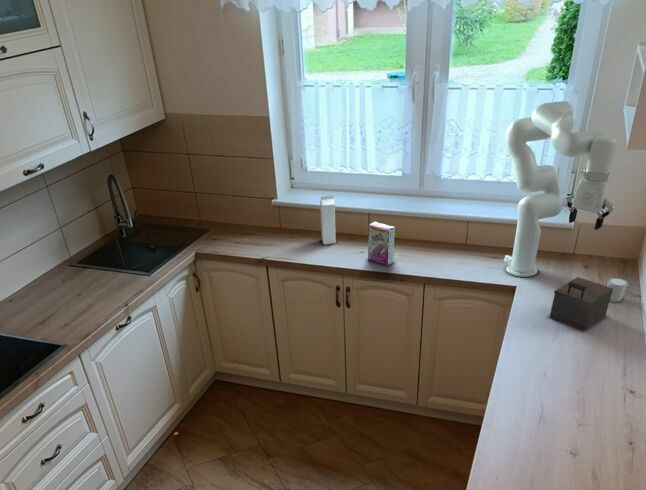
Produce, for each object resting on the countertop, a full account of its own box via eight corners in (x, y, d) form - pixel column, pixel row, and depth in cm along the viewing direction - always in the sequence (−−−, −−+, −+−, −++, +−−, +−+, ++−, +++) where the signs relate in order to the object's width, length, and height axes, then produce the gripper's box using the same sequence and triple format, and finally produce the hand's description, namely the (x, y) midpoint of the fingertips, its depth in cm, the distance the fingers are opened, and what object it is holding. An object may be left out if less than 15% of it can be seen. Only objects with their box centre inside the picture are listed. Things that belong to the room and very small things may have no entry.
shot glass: (624, 302, 225) (629, 286, 221) (605, 301, 227) (610, 285, 222) (621, 294, 231) (626, 278, 226) (602, 293, 232) (606, 277, 228)
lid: (589, 305, 204) (593, 292, 201) (553, 292, 213) (556, 280, 210) (612, 290, 212) (616, 277, 209) (577, 278, 220) (580, 266, 217)
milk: (321, 240, 288) (319, 194, 275) (333, 238, 288) (332, 193, 275) (323, 244, 283) (321, 198, 270) (336, 243, 284) (334, 197, 270)
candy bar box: (367, 260, 267) (367, 224, 257) (374, 256, 270) (374, 221, 260) (387, 266, 261) (388, 230, 251) (394, 262, 264) (395, 226, 254)
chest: (584, 330, 211) (591, 304, 205) (549, 317, 219) (555, 292, 213) (605, 316, 218) (612, 290, 212) (571, 303, 227) (577, 278, 220)
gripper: (566, 173, 203) (556, 222, 213) (615, 183, 192) (602, 234, 202) (578, 168, 206) (567, 216, 217) (626, 178, 196) (613, 228, 206)
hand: (584, 225), depth 210 cm, fingers open, 9 cm apart
